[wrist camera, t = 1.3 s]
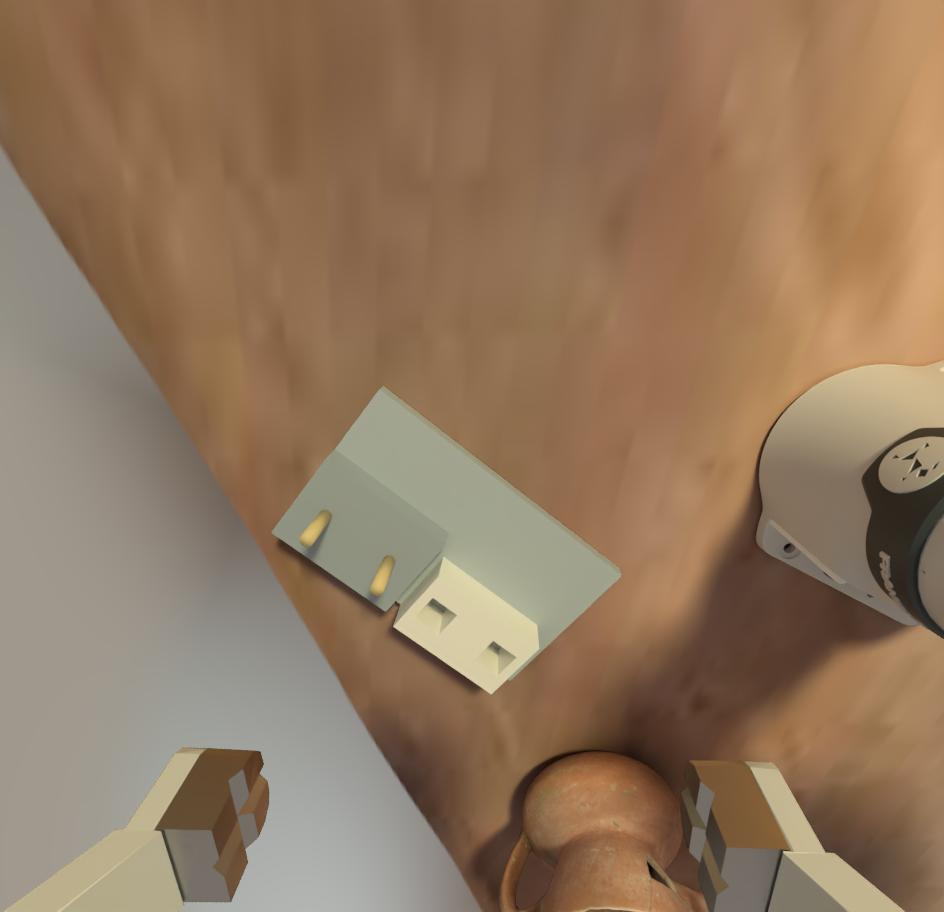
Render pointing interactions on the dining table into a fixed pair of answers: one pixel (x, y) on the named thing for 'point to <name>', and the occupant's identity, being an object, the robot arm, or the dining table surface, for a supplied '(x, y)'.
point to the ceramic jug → (601, 838)
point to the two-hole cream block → (467, 626)
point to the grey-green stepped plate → (437, 523)
